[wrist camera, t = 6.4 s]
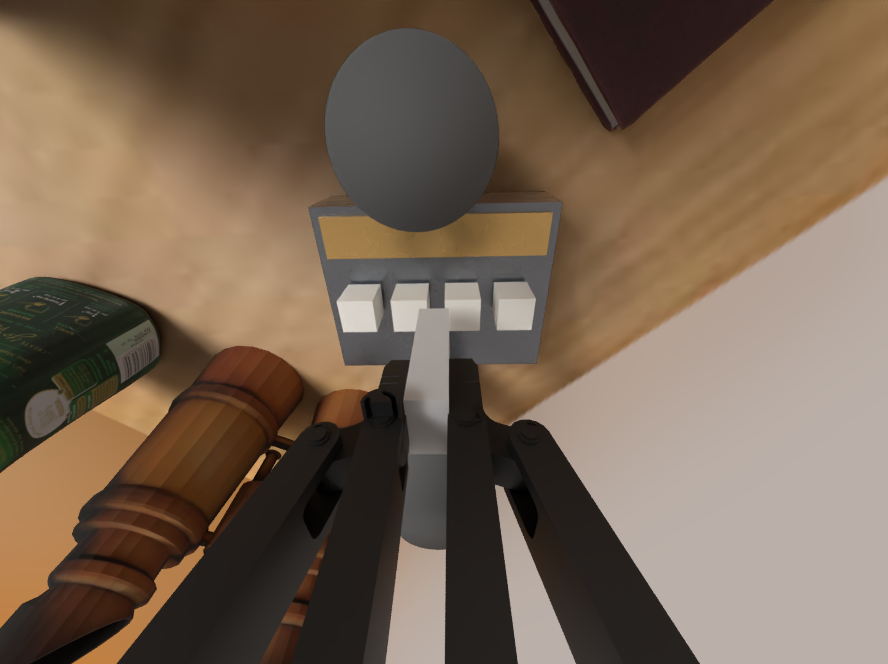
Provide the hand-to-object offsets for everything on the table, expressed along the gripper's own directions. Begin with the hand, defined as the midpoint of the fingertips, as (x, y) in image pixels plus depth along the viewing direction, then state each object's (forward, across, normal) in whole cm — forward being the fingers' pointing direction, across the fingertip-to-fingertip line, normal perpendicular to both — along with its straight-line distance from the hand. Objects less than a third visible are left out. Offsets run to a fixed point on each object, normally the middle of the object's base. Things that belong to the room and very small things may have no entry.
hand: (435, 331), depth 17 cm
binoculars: (+9, -13, -13) cm, 20 cm away
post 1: (+8, 0, +8) cm, 12 cm away
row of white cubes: (+4, 0, 0) cm, 4 cm away
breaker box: (+8, 0, 0) cm, 8 cm away
